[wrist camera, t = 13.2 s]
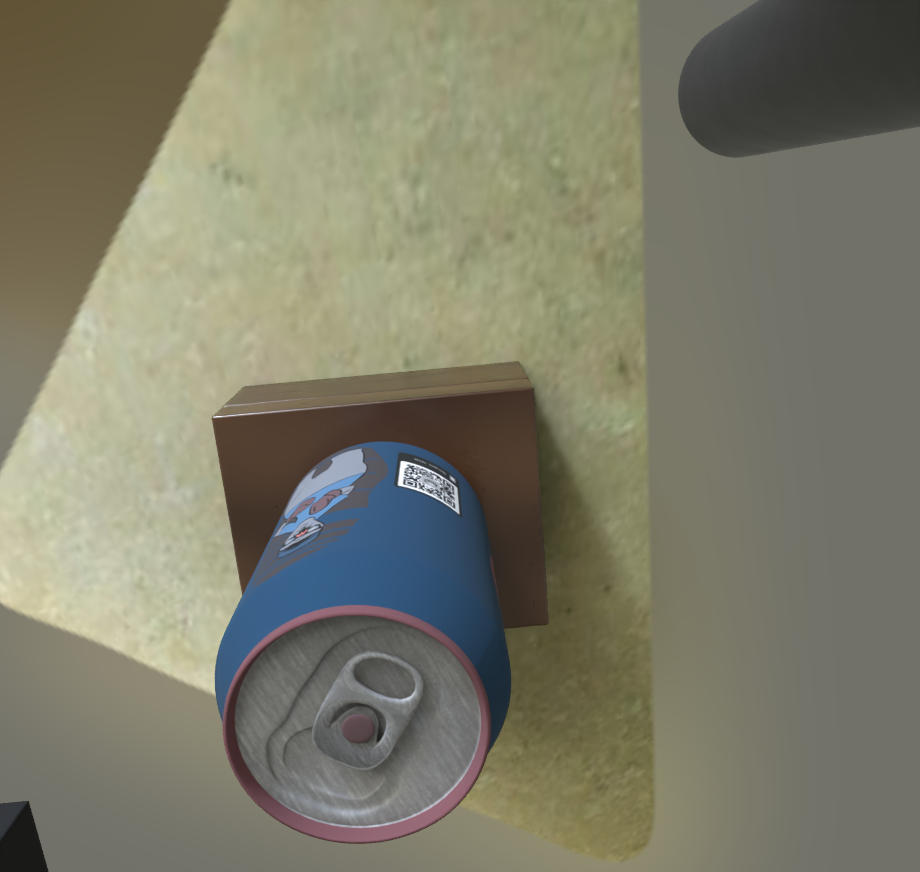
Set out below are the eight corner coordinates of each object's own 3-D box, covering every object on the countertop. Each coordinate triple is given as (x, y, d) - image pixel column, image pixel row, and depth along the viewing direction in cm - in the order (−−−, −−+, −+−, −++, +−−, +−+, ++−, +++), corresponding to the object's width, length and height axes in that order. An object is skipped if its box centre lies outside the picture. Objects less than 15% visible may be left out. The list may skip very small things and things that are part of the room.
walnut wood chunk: (243, 386, 33) (210, 416, 28) (519, 361, 33) (534, 387, 28) (276, 592, 35) (251, 653, 30) (533, 568, 35) (549, 625, 30)
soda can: (429, 644, 30) (427, 910, 19) (256, 564, 29) (141, 796, 18) (520, 485, 29) (579, 669, 17) (341, 396, 28) (276, 528, 16)
